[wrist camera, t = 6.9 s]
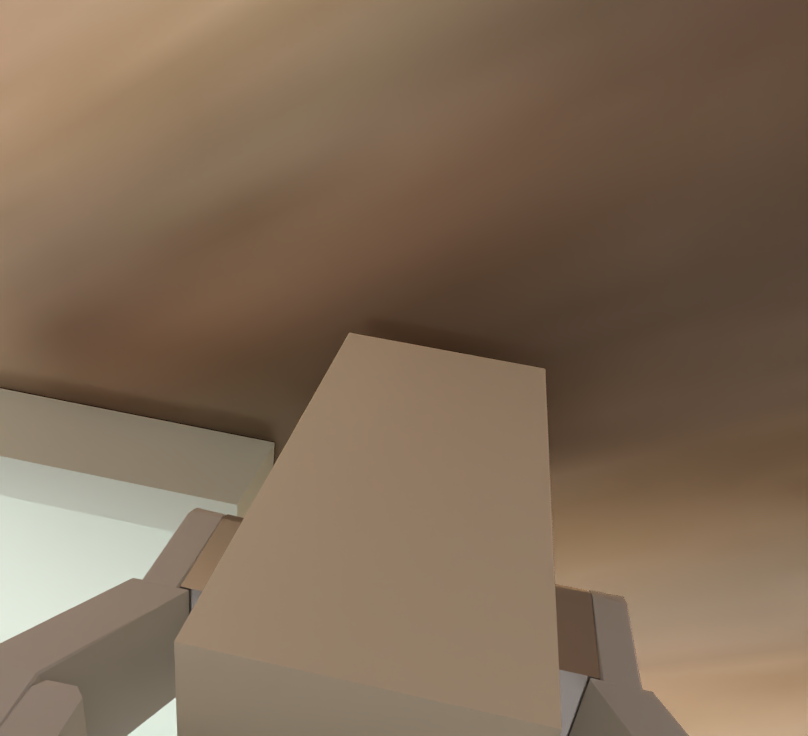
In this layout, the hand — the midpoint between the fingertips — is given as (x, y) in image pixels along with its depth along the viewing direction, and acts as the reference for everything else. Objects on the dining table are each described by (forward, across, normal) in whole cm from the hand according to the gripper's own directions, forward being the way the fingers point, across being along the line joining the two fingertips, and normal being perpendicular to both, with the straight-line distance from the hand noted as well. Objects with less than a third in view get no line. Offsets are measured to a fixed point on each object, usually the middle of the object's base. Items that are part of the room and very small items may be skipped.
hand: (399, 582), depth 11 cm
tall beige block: (+3, 0, 0) cm, 3 cm away
